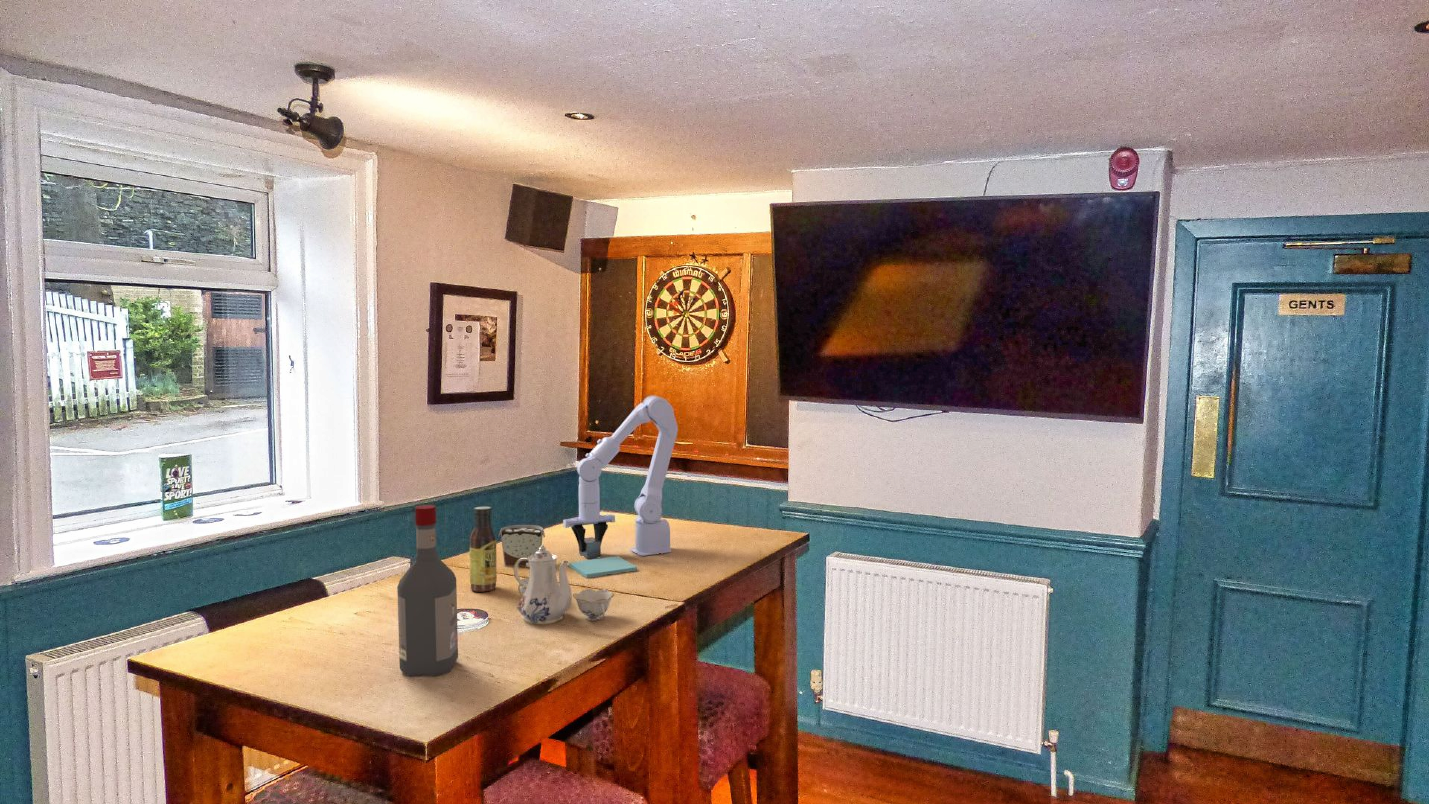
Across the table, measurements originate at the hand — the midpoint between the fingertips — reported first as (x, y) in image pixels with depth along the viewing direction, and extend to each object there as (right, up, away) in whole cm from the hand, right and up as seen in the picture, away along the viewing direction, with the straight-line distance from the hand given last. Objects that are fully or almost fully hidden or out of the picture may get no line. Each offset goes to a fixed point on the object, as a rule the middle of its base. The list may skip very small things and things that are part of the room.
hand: (589, 550), depth 242 cm
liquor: (-18, -8, -81) cm, 84 cm away
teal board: (+5, -3, -13) cm, 14 cm away
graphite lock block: (0, -2, 0) cm, 2 cm away
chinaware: (-1, -6, -51) cm, 51 cm away
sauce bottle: (-21, -4, -31) cm, 38 cm away
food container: (-16, -3, -8) cm, 18 cm away
